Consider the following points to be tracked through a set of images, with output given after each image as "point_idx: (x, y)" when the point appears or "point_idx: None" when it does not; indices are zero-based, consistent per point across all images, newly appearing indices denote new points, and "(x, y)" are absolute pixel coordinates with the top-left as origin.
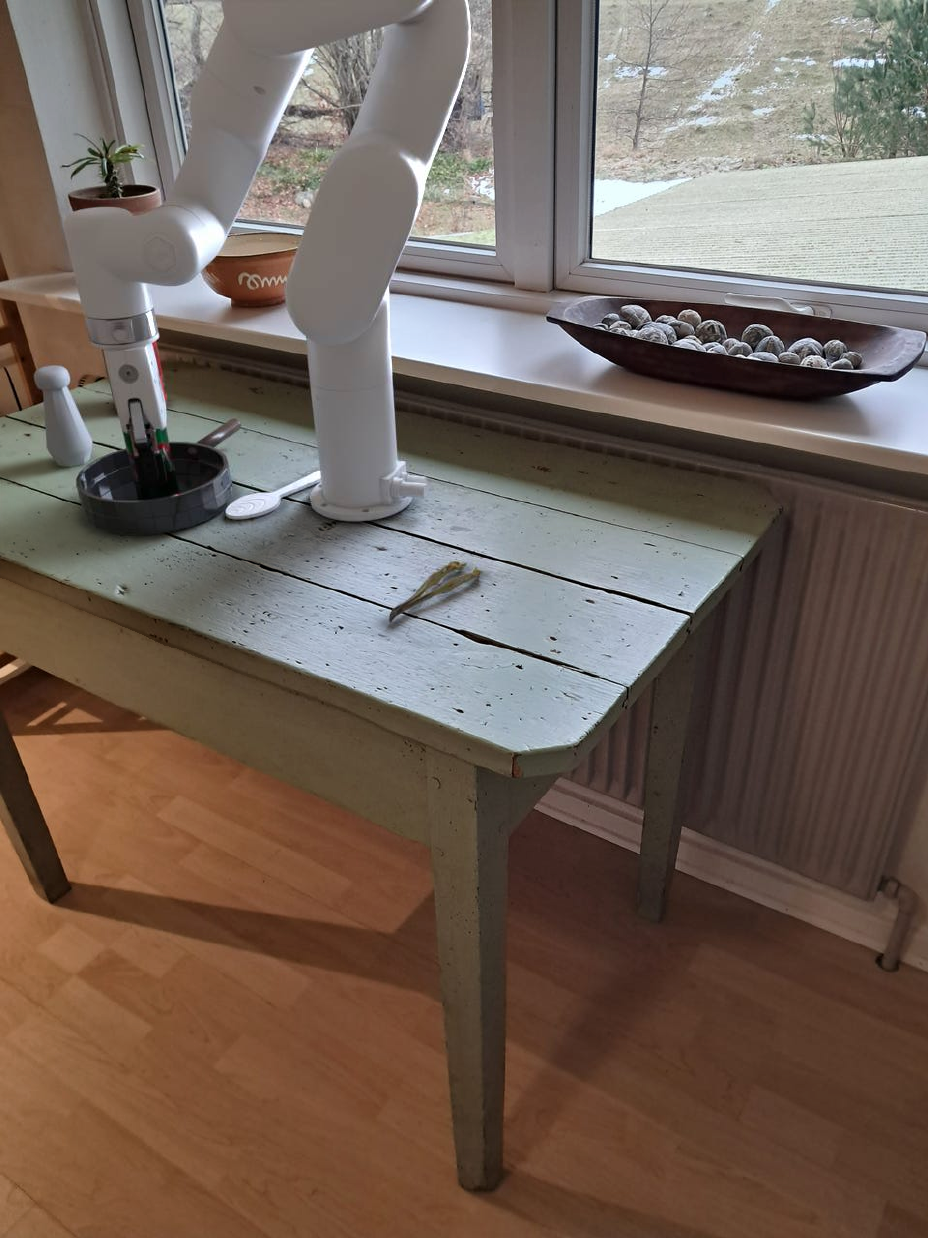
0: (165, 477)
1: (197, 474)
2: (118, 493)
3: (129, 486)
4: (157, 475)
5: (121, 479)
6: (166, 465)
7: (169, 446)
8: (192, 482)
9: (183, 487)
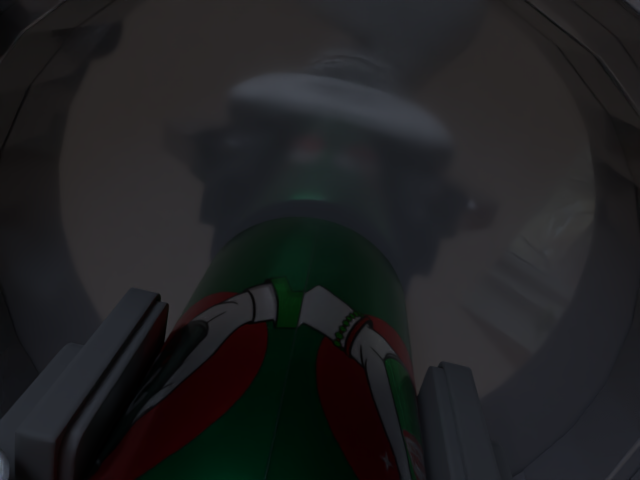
0: (473, 394)
1: (60, 46)
2: None
3: None
4: (504, 465)
5: None
6: (404, 397)
7: (326, 428)
8: (151, 100)
9: (196, 161)
